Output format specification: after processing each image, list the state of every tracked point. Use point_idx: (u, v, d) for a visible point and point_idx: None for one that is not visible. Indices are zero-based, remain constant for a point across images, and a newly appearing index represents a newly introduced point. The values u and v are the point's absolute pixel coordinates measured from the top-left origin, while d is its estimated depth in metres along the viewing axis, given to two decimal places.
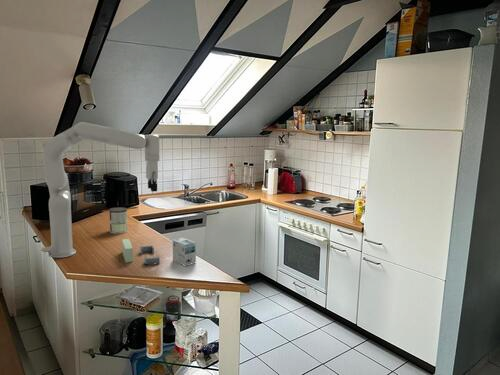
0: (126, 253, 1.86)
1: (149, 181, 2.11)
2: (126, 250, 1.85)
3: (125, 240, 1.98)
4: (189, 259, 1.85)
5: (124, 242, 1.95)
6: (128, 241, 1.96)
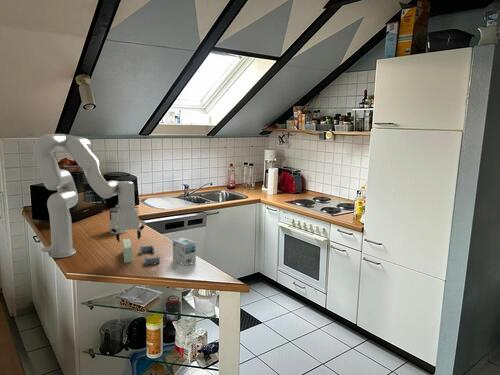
0: (125, 253, 1.85)
1: (118, 233, 1.89)
2: (125, 250, 1.85)
3: (126, 240, 1.98)
4: (189, 259, 1.85)
5: (124, 242, 1.95)
6: (128, 241, 1.96)
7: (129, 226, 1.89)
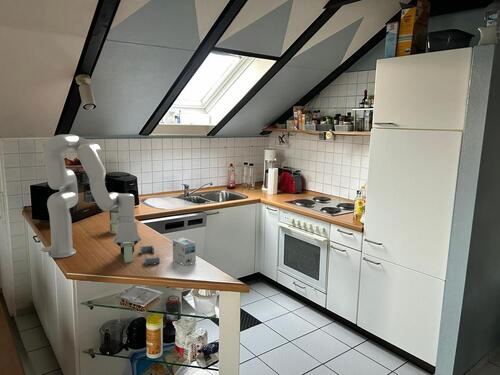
0: (126, 253, 1.86)
1: None
2: (126, 250, 1.85)
3: None
4: (189, 259, 1.85)
5: (124, 242, 1.95)
6: None
7: (128, 238, 1.90)
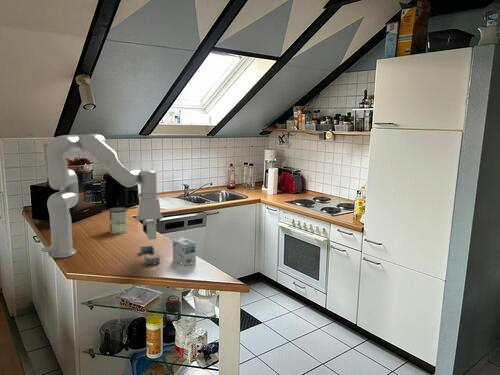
0: (149, 230, 1.83)
1: None
2: (149, 227, 1.83)
3: None
4: (189, 259, 1.85)
5: (146, 220, 1.92)
6: (150, 219, 1.94)
7: (151, 216, 1.88)
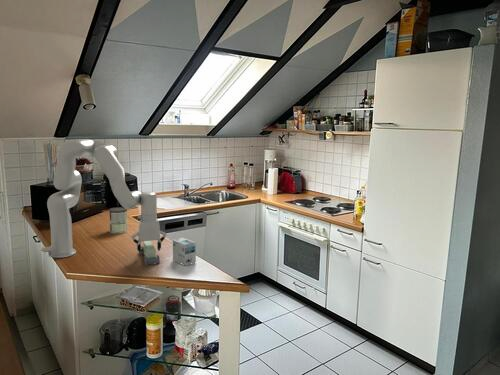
0: (149, 254, 1.85)
1: None
2: (149, 251, 1.85)
3: (146, 241, 1.97)
4: (189, 259, 1.85)
5: (146, 243, 1.94)
6: (150, 242, 1.96)
7: (150, 237, 1.89)
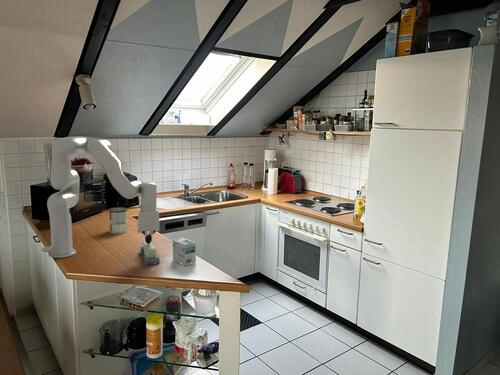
0: (149, 254, 1.85)
1: None
2: (149, 251, 1.85)
3: None
4: (189, 259, 1.85)
5: (146, 243, 1.94)
6: None
7: (150, 227, 1.88)
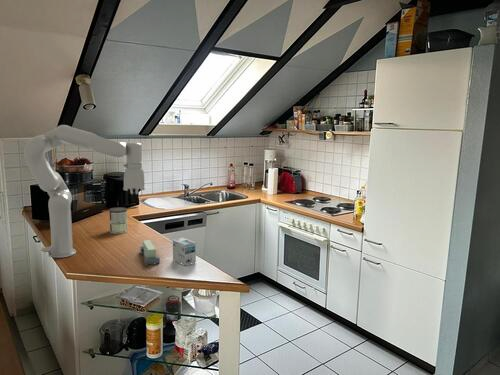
0: (149, 254, 1.85)
1: (134, 192, 2.01)
2: (149, 251, 1.85)
3: (146, 241, 1.97)
4: (189, 259, 1.85)
5: (146, 243, 1.94)
6: (149, 242, 1.96)
7: (135, 185, 1.98)
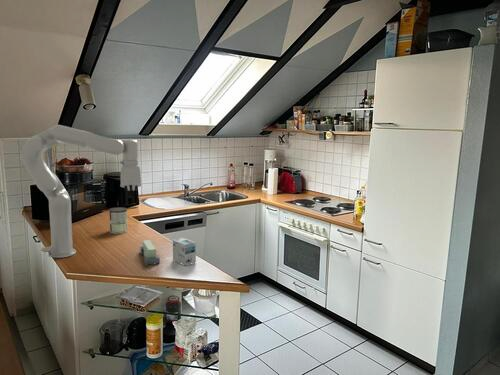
0: (149, 254, 1.85)
1: None
2: (149, 251, 1.85)
3: (146, 241, 1.97)
4: (189, 259, 1.85)
5: (146, 243, 1.94)
6: (149, 242, 1.96)
7: (132, 182, 2.02)
